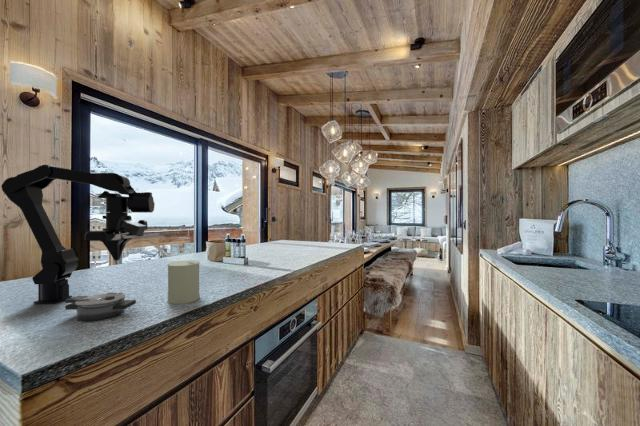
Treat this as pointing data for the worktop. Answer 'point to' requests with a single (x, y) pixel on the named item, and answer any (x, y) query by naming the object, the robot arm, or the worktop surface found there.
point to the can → (183, 282)
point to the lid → (96, 299)
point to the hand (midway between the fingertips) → (116, 260)
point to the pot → (100, 310)
